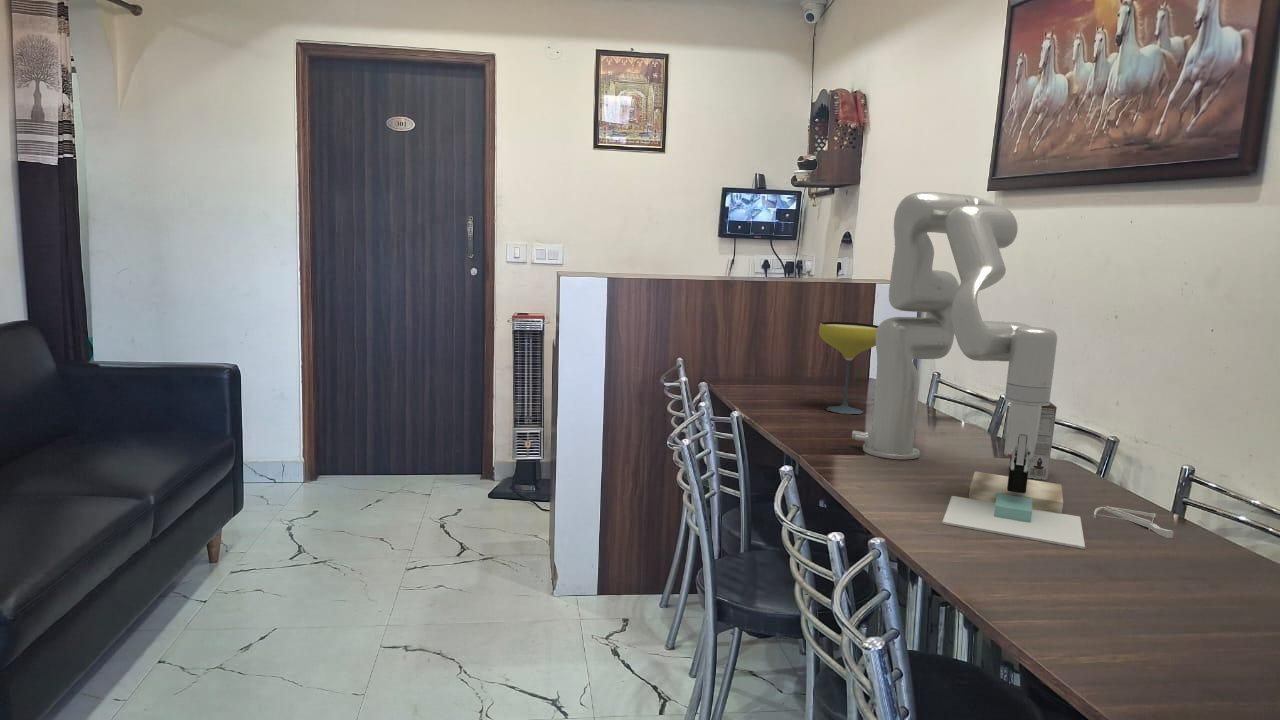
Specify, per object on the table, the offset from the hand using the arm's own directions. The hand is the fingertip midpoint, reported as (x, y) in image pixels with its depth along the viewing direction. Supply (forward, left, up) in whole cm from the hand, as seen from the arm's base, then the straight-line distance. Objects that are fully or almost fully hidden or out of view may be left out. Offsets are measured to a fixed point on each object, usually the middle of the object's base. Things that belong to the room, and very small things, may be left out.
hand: (1016, 491), depth 158 cm
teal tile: (0, -5, -3) cm, 6 cm away
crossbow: (+20, +4, -4) cm, 21 cm away
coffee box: (+2, +30, -3) cm, 30 cm away
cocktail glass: (-47, +75, -3) cm, 88 cm away
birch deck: (0, +7, -3) cm, 7 cm away
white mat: (0, -9, -3) cm, 10 cm away
